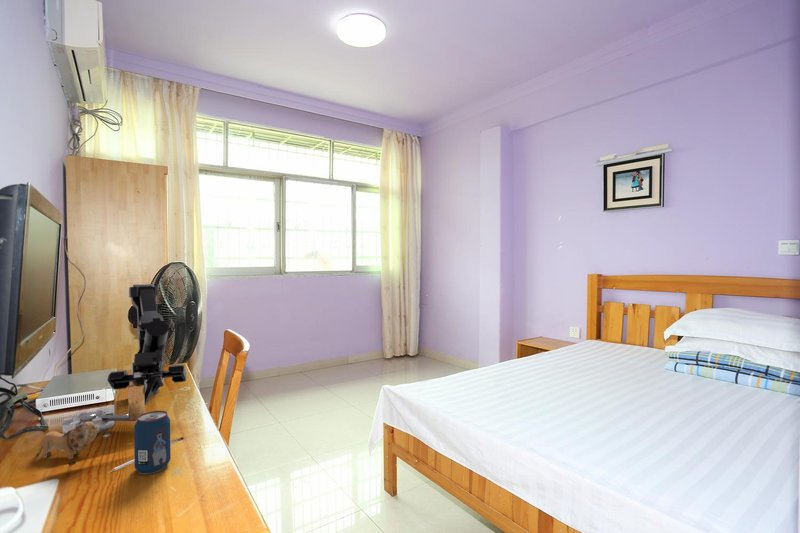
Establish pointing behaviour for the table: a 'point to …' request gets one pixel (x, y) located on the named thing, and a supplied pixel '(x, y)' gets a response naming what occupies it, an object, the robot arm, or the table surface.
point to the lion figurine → (69, 440)
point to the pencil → (133, 460)
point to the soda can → (152, 442)
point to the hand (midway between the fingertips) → (144, 404)
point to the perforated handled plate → (107, 418)
